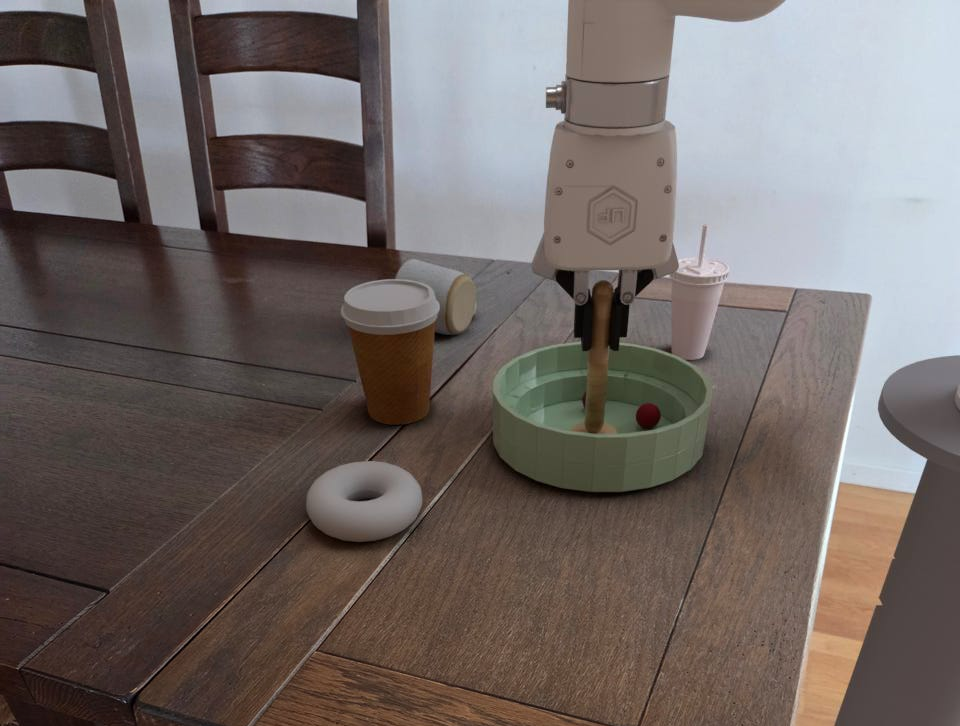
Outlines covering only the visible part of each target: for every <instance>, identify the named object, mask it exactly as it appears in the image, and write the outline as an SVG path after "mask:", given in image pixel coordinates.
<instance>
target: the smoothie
mask: <svg viewBox="0 0 960 726" xmlns="http://www.w3.org/2000/svg"><path fill="white" fill-rule="evenodd" d="M701 230H702V231H701V238H700V246H699V252H698V256H692V257H691V256H690V257H682V258H679V259H678V263H679V268H678V270H677V271H675V272H674V273H671V274H669V275H668V276H669V278H670V279H671V354H673V355H676V356H678V357H681V358H682V359H684V360H686V361H694V360H699V359H701V358H703V357H704V356H705V353H706V351H707V346H708V342H709V339H710V335H711V332H712V328H713V326H714V321H715V318H716V315H717V310H718V307H719V303H720V300H721V296H722V293H723V289H724V286H725V282H726V281H728V280H729V277H730V266H729V265H728V264H727V263H726V262H724V261H721V260H719V259H715V258H710V257H705V253H706V246H707V238H708V232H709V224H702V229H701Z"/></svg>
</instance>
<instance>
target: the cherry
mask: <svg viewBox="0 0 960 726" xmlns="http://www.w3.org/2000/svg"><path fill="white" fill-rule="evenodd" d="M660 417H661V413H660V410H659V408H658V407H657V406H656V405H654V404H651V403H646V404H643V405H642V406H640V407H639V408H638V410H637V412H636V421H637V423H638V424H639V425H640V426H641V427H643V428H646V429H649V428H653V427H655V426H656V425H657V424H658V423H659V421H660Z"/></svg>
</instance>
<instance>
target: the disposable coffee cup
mask: <svg viewBox="0 0 960 726" xmlns="http://www.w3.org/2000/svg"><path fill="white" fill-rule="evenodd" d="M439 310H440V304H439V302H438V301H437V300H436V298H435V294H434V291H433V289H432V288H431V287H429V286H428V285H426V284H423V283H421V282H417V281H412V280H402V279H395V278H388V279H379V280H377V279H376V280H372V281H367V282H364V283H361V284H358V285H355V286H353V287H351V288H350V289H348V290H347V291H346V292H345V294H344V296H343V305H341V308H340V314H341V317H342V319H344V323H345V324H346V325H347V328H348V333H349V337H350V341H351V345H352V350H353V353H354V358H355V362H356V365H357V369H358V374H359V378H360V381H361V382H360V383H361V386H362V391H363V395H364V398H365V402H366V406H367V411H368V415H369V417H370V418H371V419H372V420H373V421H375V422H377V423H381V424H383V425H384V424H385V425H391V426H393V425H395V426H397V425H407V424H413V423H415V422H418V421H421V420H423V419H424V418H425V417H426V416H427V415H428V414H429V413H430V401H431V387H432V375H433V373H432V372H433V359H434V346H435V333H436V332H435V320H436V318H437V314H438V312H439Z"/></svg>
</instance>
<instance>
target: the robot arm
mask: <svg viewBox="0 0 960 726" xmlns="http://www.w3.org/2000/svg"><path fill="white" fill-rule="evenodd" d="M786 1H787V0H568V1H567V3H568V4H567V31H566V33H567V34H566V64H565V75H564V80H561V83H560V84H556V85H555V86H547V87H545V109H555V111H560V114H563V115H564V119H563V120H562V121H559V122H558V123H556V125H555V127H554V132H553V134H552V135H553V136H552V141H551V145H550V151H549V152H550V153H549V161H548V170H547V177H546V185H545V187H546V188H545V198H544V199H545V203H544V217H543V233H542V235H541V238H540V240H539V243H538V246H537V248H536V251H535V253H534V255H533V258H532V261H531V270H532V273H533V274H535V275H537V276H538V277H539V276H540V277H542V278H544V279H546V280H549V281H553V282H555V283H557V284H558V285H559V286H560V287H561V288H562V290H564V291H565V292H566V293H567V294H568V295H569V297H570V298H571V299H572V300H573V302H574V315H573V316H574V317H573V338H574V339H580V342H581V345H582V351H589V350H591V340H592V323H593V302H592V293H591V290H590V288H589V283H590V271H618V275H617V285H616V287H615V288H613V289H614V292H613V303H612V316H611V330H610V343H609V346H610V349H612V351H619V343H621V342H620V341H621V338H627V337H628V331H629V330H628V329H629V318H630V306H631V304H633V303H634V301H635V298H636V297H637V296H639V294H640V293H641V292H642V291H643V290H644V289H646V288H647V287H648V285H650V284H651V283H652V282H653V281H655V280H658V279H661V278H664V277H666V276H669V274H671V273H674V272H675V271H677V270H678V268H679V263H678V260H679V259H678V256H677V252H676V249H675V245H674V242H673V241H674V232H675V231H674V230H675V216H676V215H675V214H676V202H677V201H676V200H677V183H678V181H677V180H678V179H677V178H678V146H677V133H676V132H677V131H676V126H675V124H673V123H672V122H671V121H668V120H666V114H667V104H668V95H669V94H668V93H669V85H670V76H671V75H670V73H671V67H672V66H671V65H672V55H673V45H674V35H675V26H676V25H675V24H676V17H689V18H690V17H691V18H698V19H699V18H700V19H707V20H712V21H713V20H714V21H721V22H727V23H744V22H750V21H754V20H756V19H760V18H762V17H765V16H766V15H768V14H770V13H772V12H774V11H775V10H777V9H778V8H779V7H780V6H782V5H783V4H784V3H785V2H786ZM954 401H955V404H956V406H957V408H958V409H959V410H960V385H959V386H958V389H957V391H956V394H955V398H954Z"/></svg>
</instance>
